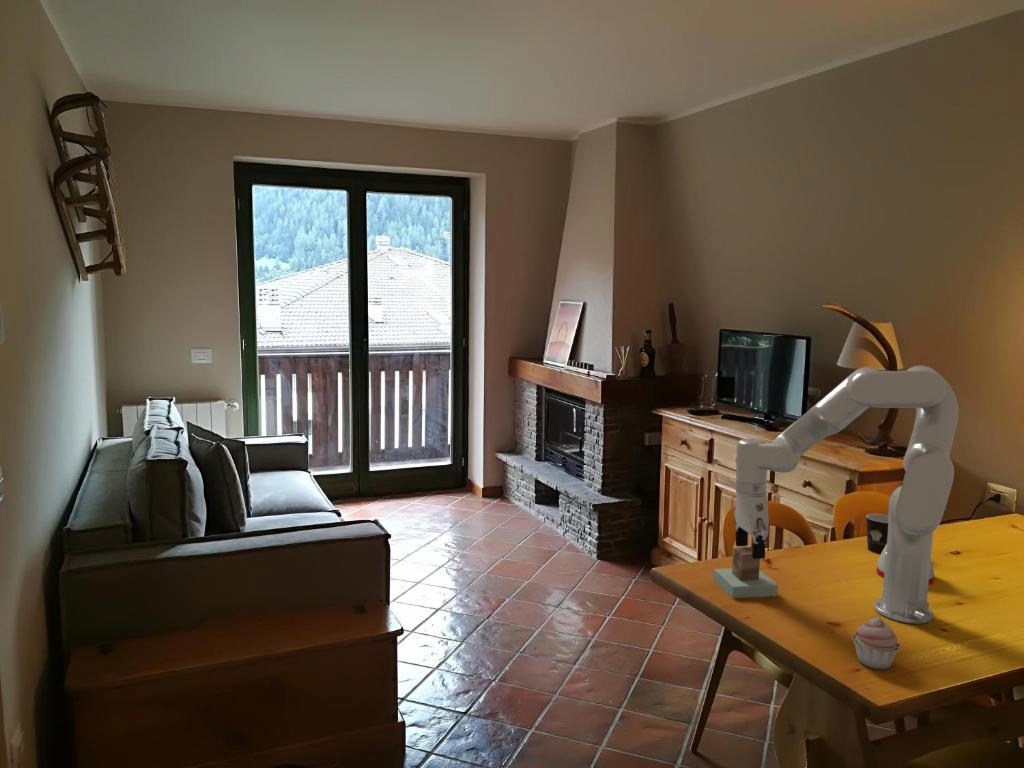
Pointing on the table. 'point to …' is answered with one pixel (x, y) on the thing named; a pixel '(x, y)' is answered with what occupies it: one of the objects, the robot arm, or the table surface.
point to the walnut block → (745, 564)
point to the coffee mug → (877, 532)
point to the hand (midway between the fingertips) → (749, 551)
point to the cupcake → (876, 644)
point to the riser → (745, 585)
